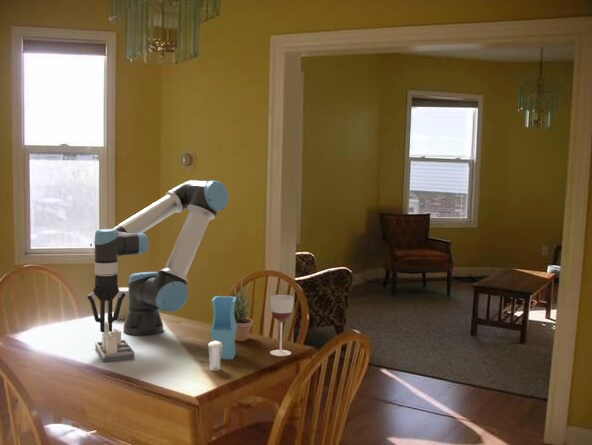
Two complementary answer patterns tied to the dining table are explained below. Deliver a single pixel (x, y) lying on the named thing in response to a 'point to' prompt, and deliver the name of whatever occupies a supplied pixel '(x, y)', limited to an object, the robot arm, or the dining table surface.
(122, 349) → the switch bank
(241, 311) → the potted plant
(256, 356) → the dining table surface
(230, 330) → the vase
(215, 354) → the milkshake
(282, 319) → the wineglass
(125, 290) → the coffee cup
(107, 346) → the tab
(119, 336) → the tab
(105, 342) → the tab
